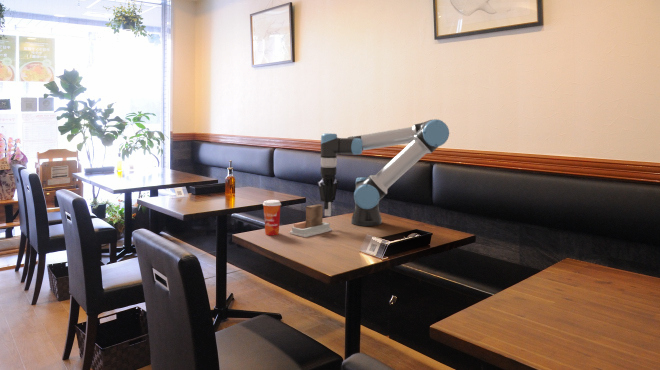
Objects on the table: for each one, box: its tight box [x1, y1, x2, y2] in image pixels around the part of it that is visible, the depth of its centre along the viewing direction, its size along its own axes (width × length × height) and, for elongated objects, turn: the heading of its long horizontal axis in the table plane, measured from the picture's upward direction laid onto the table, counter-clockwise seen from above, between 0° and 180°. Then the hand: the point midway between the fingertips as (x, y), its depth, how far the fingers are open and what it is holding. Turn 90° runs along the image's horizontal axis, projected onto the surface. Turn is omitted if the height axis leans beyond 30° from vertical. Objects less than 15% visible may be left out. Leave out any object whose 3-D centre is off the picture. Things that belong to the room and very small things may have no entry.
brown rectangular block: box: [305, 203, 324, 228], centre depth 225 cm, size 8×3×11 cm, turn 139°
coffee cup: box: [262, 199, 282, 236], centre depth 218 cm, size 8×8×15 cm
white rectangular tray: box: [289, 220, 333, 238], centre depth 224 cm, size 18×10×4 cm, turn 139°
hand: (327, 215), depth 232 cm, fingers closed
